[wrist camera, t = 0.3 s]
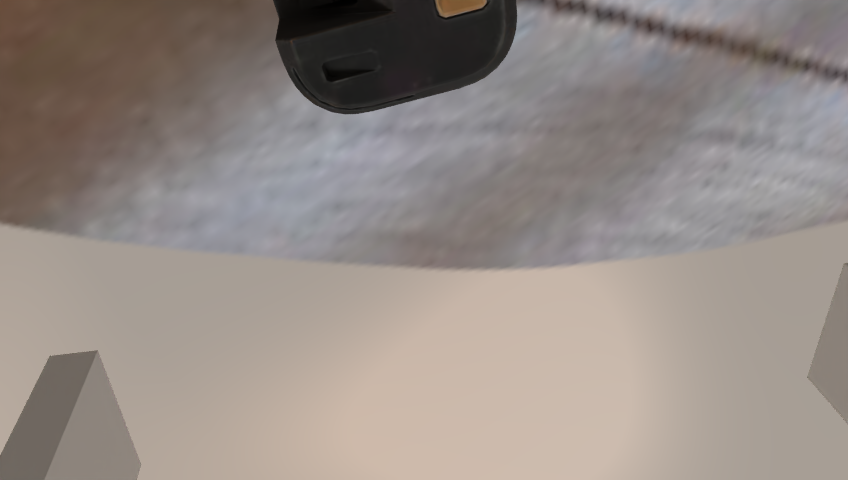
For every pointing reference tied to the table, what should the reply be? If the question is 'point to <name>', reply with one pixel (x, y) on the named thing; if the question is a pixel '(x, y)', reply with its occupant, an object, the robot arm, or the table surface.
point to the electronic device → (390, 48)
